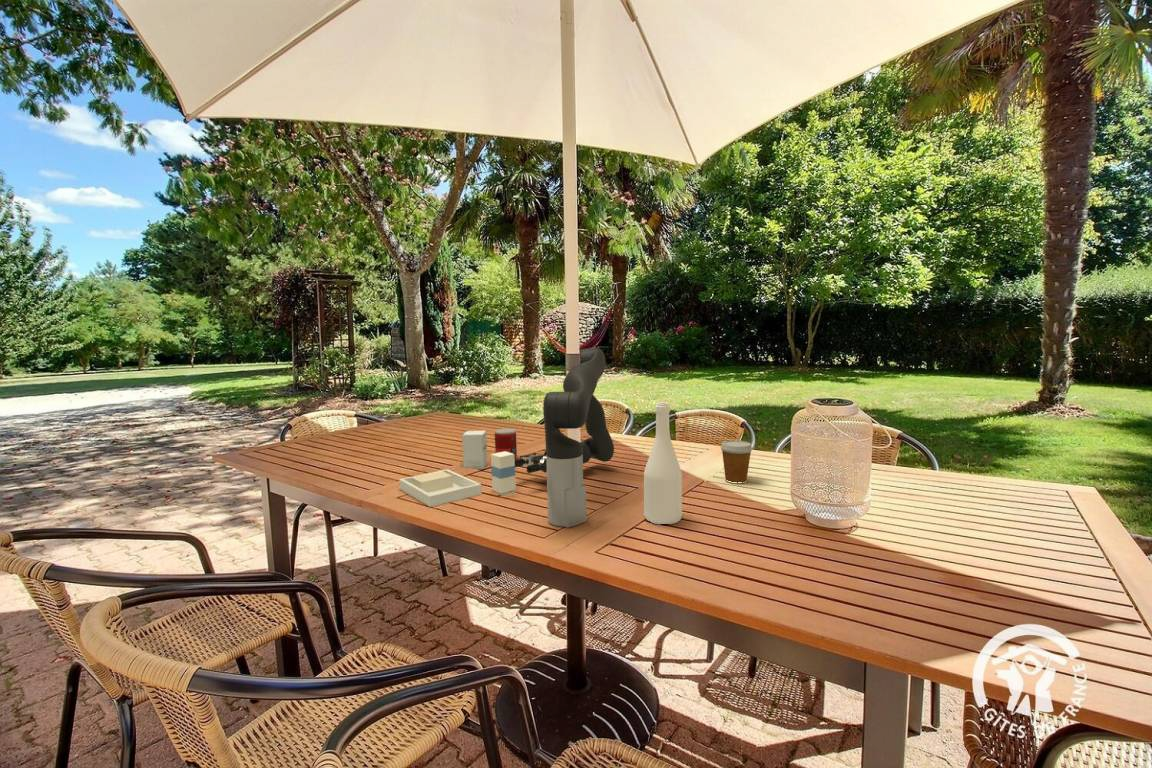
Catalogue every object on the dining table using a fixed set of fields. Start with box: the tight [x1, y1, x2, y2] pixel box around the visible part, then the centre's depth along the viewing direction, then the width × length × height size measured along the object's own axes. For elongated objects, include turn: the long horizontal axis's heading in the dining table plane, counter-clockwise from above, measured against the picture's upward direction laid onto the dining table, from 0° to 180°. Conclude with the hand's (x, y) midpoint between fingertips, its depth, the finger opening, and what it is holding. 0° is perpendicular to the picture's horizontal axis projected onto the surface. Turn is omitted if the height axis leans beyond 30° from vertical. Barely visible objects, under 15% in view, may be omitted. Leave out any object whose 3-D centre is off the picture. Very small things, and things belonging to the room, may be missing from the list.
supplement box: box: [461, 430, 488, 470], centre depth 188 cm, size 7×7×13 cm
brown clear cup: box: [720, 439, 753, 483], centre depth 165 cm, size 10×10×12 cm
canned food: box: [494, 428, 518, 459], centre depth 198 cm, size 8×8×11 cm
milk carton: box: [490, 451, 517, 498], centre depth 158 cm, size 5×5×12 cm
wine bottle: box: [643, 401, 683, 525], centre depth 134 cm, size 10×10×30 cm
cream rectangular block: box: [411, 470, 453, 493], centre depth 162 cm, size 7×10×4 cm
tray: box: [398, 469, 483, 508], centre depth 159 cm, size 22×16×4 cm
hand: (519, 466), depth 162 cm, fingers open, 8 cm apart
